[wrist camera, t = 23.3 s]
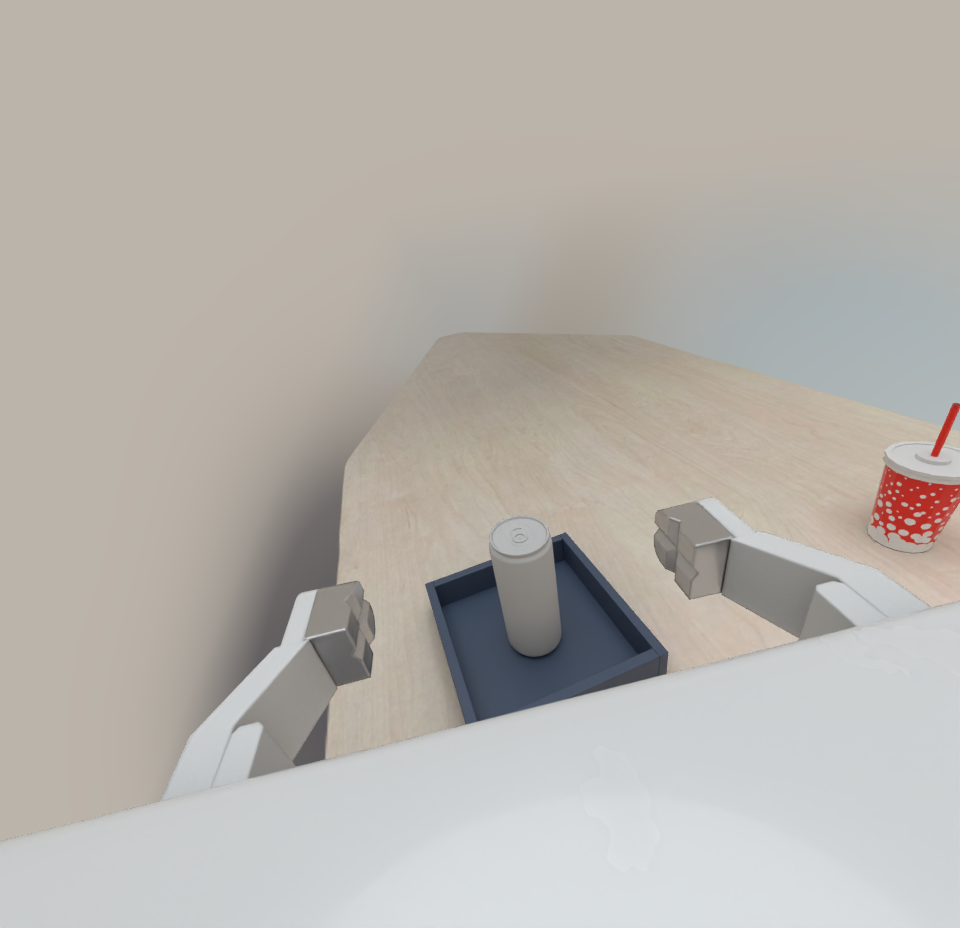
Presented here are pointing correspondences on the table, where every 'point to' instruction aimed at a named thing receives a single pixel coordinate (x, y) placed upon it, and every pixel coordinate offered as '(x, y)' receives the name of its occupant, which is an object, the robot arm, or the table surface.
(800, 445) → the table surface
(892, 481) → the beverage cup
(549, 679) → the tray
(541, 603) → the beverage can
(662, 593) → the table surface
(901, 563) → the table surface
